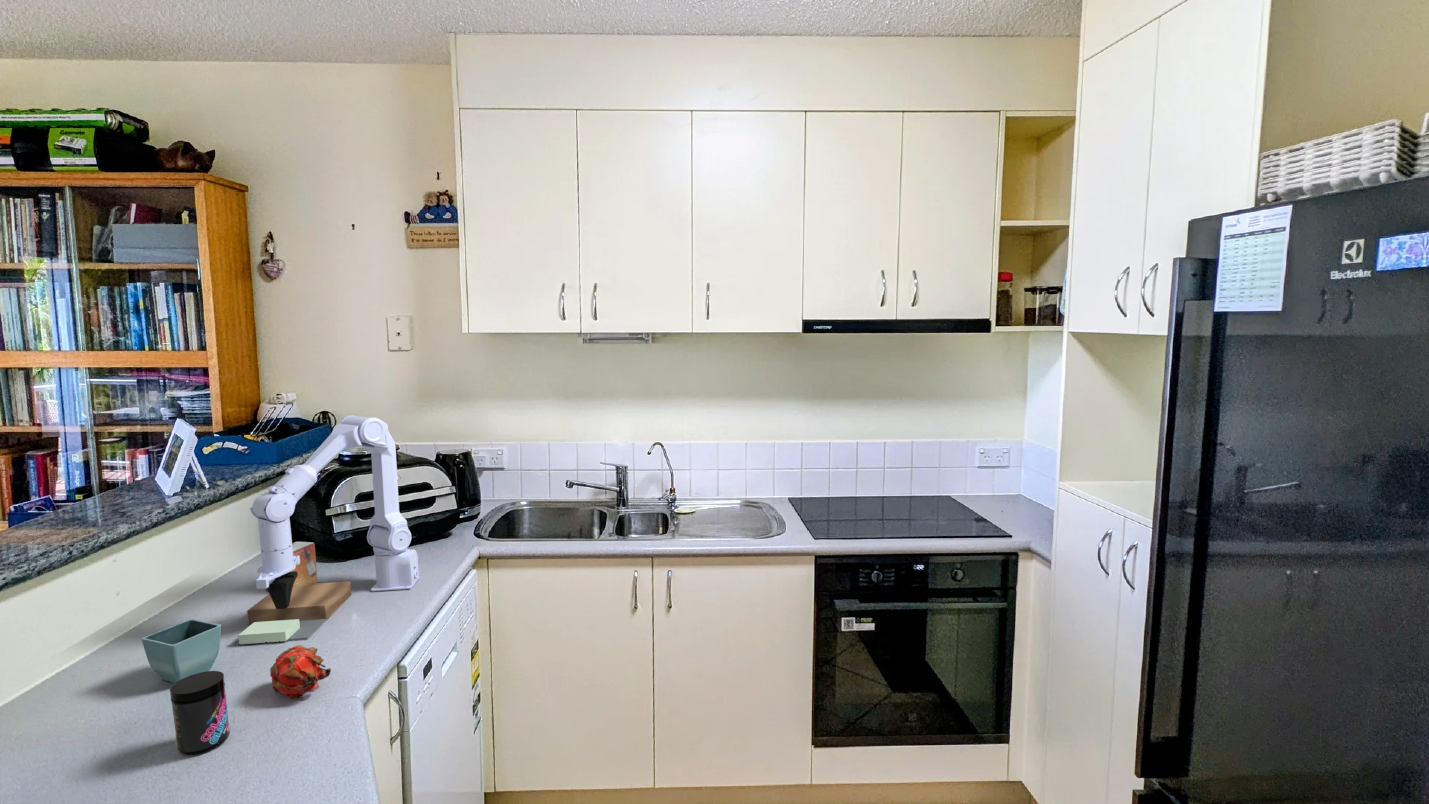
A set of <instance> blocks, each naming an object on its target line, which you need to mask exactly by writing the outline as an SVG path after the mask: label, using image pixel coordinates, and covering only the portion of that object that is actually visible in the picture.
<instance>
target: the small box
mask: <svg viewBox="0 0 1429 804" xmlns="http://www.w3.org/2000/svg"><path fill="white" fill-rule="evenodd" d="M292 548H293V556H297V555H299V557H300V564H299V565H296V567H295V569H294V570H292V571H296V572H298V576H297V578H296V580H295V582H294V585H300V584H316V583H318V582H319V581H318V570H317V568H318V567H317V558H316V546H315V542H309V541H308V542H307V541H295V542H292ZM292 571H291V572H292Z"/></svg>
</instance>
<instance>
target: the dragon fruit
mask: <svg viewBox="0 0 1429 804" xmlns="http://www.w3.org/2000/svg"><path fill="white" fill-rule="evenodd" d="M317 652H318V648H316V647H314V646H311V647H305V646H304V645H302V644H297V645H295V646H293V647H288V649H287V650H284V651H283V652H281V653H280V654H279V655H278V656H277V657H276V659H275V662H274V664H273V665H272V666H270V669H269V671H270V672H269V673H270V674H269V675H270V676H269V677H270V678H271V687H272V690H273V691H274V693H275V694H277V695H279V694H281V693H283V694H284V695H285V697H288V698H290V700H301V699H304V697H303V695H304V692H305V693H308V692H309V693H313V692H315V690H316V689H317V688H318V687H319V684H318V683H319V681H322V680H325V679H326V678H328V677H329V676H330V675H331V672H332V669H331V667H328V668H326V665H325V664H322V663H323V662H324V658H323V657H322V656H320V655H317ZM322 667H323V668H322ZM325 668H326V669H325Z"/></svg>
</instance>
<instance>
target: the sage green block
mask: <svg viewBox="0 0 1429 804" xmlns="http://www.w3.org/2000/svg"><path fill="white" fill-rule="evenodd" d="M299 628H300V623H299V619H294V620H279V621H264V622H254V623H253V624H251V625H250V626H249V625H248V626H247V627H246V628H245V629H244V630H243V631H242V632H240V633H239V634H238V640H239V645H246V644H247V645H250V644H252V643H253V644H263V643H264V644H266V643H265V642H267V643H274V642H275V643H278V642H279V641H280V642H288V641H287V640H288V639H289V638H290V637H291V636H292V635H293V634H294V633H295V632H296V631H297V630H298V629H299Z"/></svg>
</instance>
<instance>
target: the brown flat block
mask: <svg viewBox="0 0 1429 804" xmlns="http://www.w3.org/2000/svg"><path fill="white" fill-rule="evenodd" d="M351 585H352V584H351V581H348V580H347V581H332V582H321V583H318V582H316V583H314V584H300V585H293V588H292V592H291V598H290V604H289V606H288V607H287V608H286V609H276V607H275V605H274V603H273V600H272V598H271V596H270V594H269V593H268V594H267V595H265V596H264V597H263V598H262V599H261V600H259V601H258V602H257V603H255V604H254V605H253V606H251V607H250V608H249V609H248V610H247V611H246V612H247V622H248V627H249V626H250V625H251V624H253V623H254V622H264V621H279V620H294V619H299V621H302V620H316V619H326V621H328V620H329V618H331V616H332V615H334V613H336V611H338V610H339V608H340V607H341V606H342V605H343V604H344V603H345V602H347V601H348V599H349V598H351V596H352V587H351Z"/></svg>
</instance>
